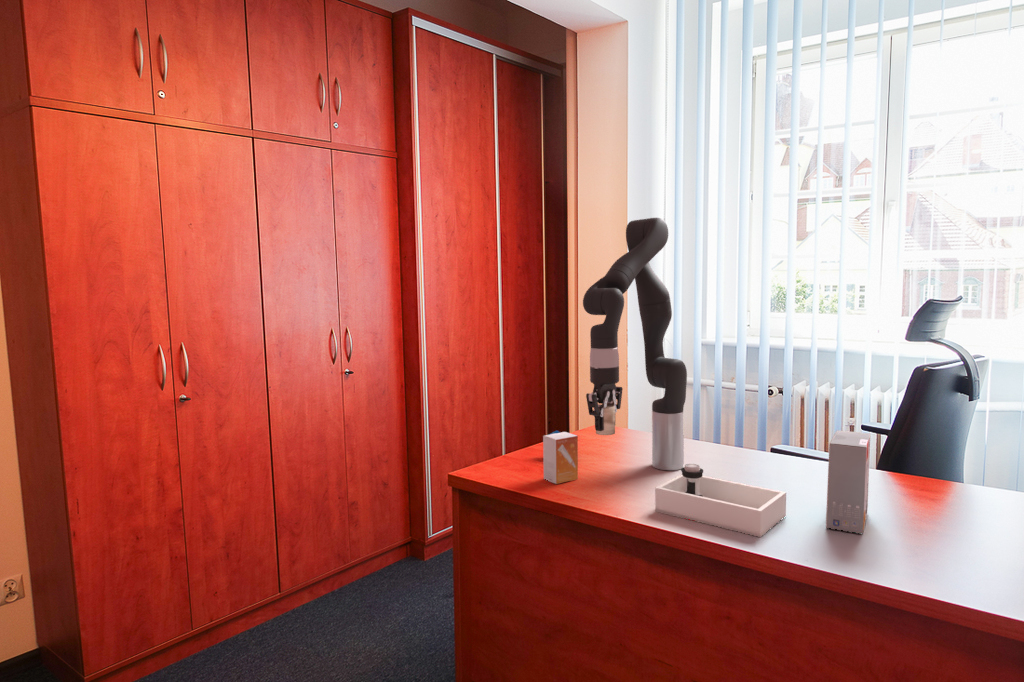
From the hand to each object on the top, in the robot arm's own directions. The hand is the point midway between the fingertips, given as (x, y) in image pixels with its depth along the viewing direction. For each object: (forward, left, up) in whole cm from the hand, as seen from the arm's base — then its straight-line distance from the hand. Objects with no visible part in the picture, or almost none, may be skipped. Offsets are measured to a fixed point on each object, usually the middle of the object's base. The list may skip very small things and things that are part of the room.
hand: (605, 428), depth 171 cm
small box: (-4, -18, -19) cm, 26 cm away
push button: (-6, +23, -18) cm, 29 cm away
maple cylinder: (0, 0, -1) cm, 1 cm away
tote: (-6, +29, -18) cm, 35 cm away
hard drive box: (-20, +54, -19) cm, 60 cm away
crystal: (-21, -31, -19) cm, 42 cm away
